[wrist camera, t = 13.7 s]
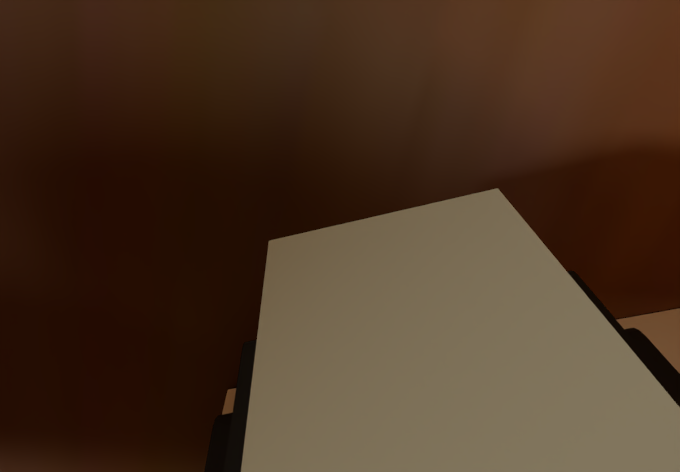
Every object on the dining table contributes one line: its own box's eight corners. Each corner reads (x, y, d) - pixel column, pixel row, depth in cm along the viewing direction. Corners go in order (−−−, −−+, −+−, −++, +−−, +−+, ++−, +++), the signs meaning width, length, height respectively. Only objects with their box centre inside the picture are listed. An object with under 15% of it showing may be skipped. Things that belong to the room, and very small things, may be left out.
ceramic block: (268, 241, 11) (225, 597, 5) (497, 188, 11) (752, 496, 5) (323, 400, 13) (340, 772, 7) (511, 360, 13) (691, 712, 7)
